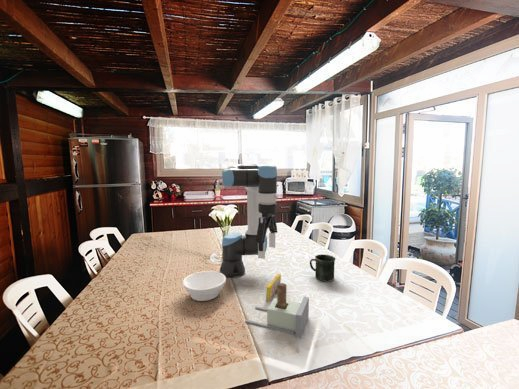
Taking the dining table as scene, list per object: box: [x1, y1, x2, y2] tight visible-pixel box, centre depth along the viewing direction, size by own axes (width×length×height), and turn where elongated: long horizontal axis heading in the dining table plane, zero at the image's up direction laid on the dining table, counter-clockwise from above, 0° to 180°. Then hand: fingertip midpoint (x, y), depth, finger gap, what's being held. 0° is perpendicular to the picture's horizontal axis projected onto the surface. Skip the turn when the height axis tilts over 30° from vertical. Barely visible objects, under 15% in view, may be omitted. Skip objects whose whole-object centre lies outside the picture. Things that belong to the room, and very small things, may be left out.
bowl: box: [182, 270, 227, 302], centre depth 128 cm, size 21×21×8 cm
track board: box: [244, 295, 310, 339], centre depth 104 cm, size 24×14×10 cm, turn 68°
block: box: [266, 297, 301, 333], centre depth 103 cm, size 12×9×7 cm
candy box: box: [265, 273, 282, 302], centre depth 127 cm, size 16×2×8 cm, turn 157°
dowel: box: [276, 282, 287, 309], centre depth 103 cm, size 4×4×14 cm
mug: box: [309, 254, 336, 282], centre depth 147 cm, size 11×15×12 cm
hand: (267, 252), depth 109 cm, fingers open, 13 cm apart
